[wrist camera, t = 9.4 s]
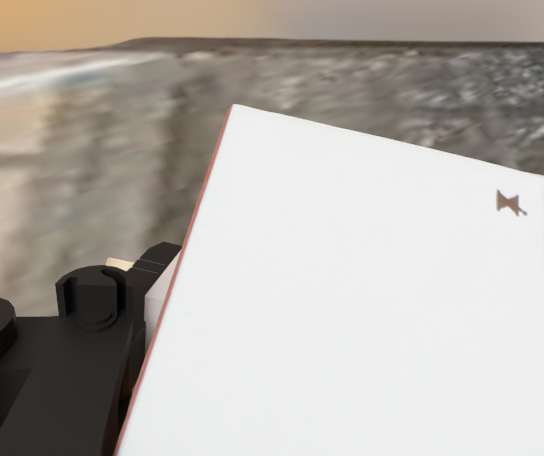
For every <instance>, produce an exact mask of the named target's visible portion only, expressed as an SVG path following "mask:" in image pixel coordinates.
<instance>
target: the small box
mask: <svg viewBox="0 0 544 456" xmlns="http://www.w3.org/2000/svg"><path fill="white" fill-rule="evenodd" d="M113 456H544V176H543V175H537V174H532V173H527V172H522V171H518V170H514V169H511V168H507V167H503V166H499V165H495V164H492V163H488V162H484V161H480V160H476V159H472V158H468V157H463V156H459V155H455V154H451V153H447V152H443V151H438V150H434V149H430V148H426V147H421V146H417V145H413V144H408V143H404V142H400V141H396V140H392V139H387V138H383V137H379V136H374V135H370V134H365V133H361V132H357V131H353V130H348V129H342V128H338V127H334V126H330V125H326V124H321V123H317V122H313V121H309V120H305V119H300V118H296V117H291V116H287V115H282V114H278V113H272V112H267V111H263V110H259V109H255V108H251V107H247V106H243V105H238V104H234V105H231V107H230V108H229V109H228V111H227V114H226V117H225V120H224V123H223V126H222V129H221V132H220V135H219V138H218V141H217V144H216V147H215V150H214V153H213V156H212V159H211V162H210V165H209V168H208V171H207V174H206V177H205V180H204V182H203V185H202V189H201V192H200V195H199V198H198V201H197V204H196V207H195V210H194V213H193V216H192V219H191V222H190V225H189V228H188V231H187V234H186V237H185V240H184V243H183V246H182V249H181V252H180V255H179V258H178V261H177V264H176V267H175V270H174V273H173V276H172V279H171V282H170V285H169V288H168V291H167V294H166V297H165V300H164V303H163V306H162V309H161V311H160V314H159V317H158V320H157V323H156V326H155V330H154V333H153V336H152V339H151V342H150V345H149V348H148V350H147V353H146V356H145V359H144V362H143V365H142V368H141V371H140V374H139V377H138V380H137V383H136V386H135V389H134V392H133V395H132V398H131V401H130V405H129V408H128V411H127V415H126V418H125V421H124V424H123V426H122V429H121V432H120V435H119V438H118V441H117V444H116V447H115V450H114V453H113Z"/></svg>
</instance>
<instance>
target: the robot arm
mask: <svg viewBox="0 0 544 456" xmlns="http://www.w3.org/2000/svg"><path fill="white" fill-rule="evenodd" d="M181 249H182V246H179V245H175V244H171V243H167V242H162V243H160V244H158V245H155V246H153V247H151V248H149V249H148V250H147V251H146V252H145V253H144V254H143V255H142V256H141V257H140V260H137V261H136V262H135V263H134V264H133V265H132V268H129V269H128V270H127V271H124V270H122V269H120V268H118V267H113V266H107V265H98V266H88V267H84V268H80V269H76V270H74V271H72V272H70V273H68V274H66V275H64V276H63V277H62V278H61V279H60V280H59V281H58V282H57V283H56V284H55V286H56V294H57V302H58V310H59V316H52V317H16V314H15V310H14V307H13V306H12V304H11V303H10V302H9V301H8V300H5V299H2V298H0V456H113V453H114V450H115V447H116V444H117V441H118V438H119V435H120V432H121V429H122V426H123V424H124V421H125V418H126V415H127V411H128V408H129V405H130V401H131V398H132V388H133V387H134V385H135V383H136V381H137V380H138V377H139V374H140V371H141V368H142V365H143V362H144V359H145V356H146V353H147V350H148V348H149V345H150V342H151V339H152V336H153V333H154V330H155V326H156V323H157V320H158V317H159V314H160V311H161V309H162V306H163V303H164V300H165V297H166V294H167V291H168V288H169V285H170V282H171V279H172V276H173V273H174V270H175V267H176V264H177V261H178V258H179V255H180V252H181Z"/></svg>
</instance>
